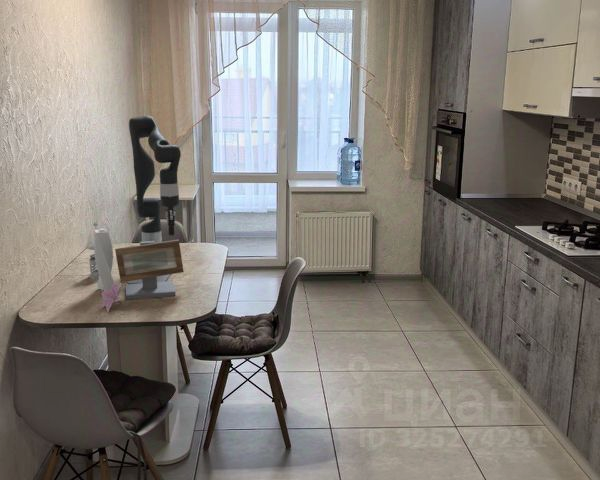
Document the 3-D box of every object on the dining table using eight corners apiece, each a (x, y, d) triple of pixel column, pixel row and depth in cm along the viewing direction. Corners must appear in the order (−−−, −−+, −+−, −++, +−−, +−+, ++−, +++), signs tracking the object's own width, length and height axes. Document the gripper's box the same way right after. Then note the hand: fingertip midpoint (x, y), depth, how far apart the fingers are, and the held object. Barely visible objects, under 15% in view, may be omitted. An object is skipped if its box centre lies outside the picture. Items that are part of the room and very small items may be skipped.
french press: (86, 274, 298) (82, 222, 292) (112, 271, 303) (108, 219, 298) (90, 279, 290) (85, 225, 284) (116, 276, 295) (112, 223, 289)
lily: (104, 304, 260) (92, 287, 254) (130, 291, 261) (120, 275, 255) (106, 322, 250) (95, 305, 245) (134, 309, 252) (123, 292, 246)
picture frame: (120, 281, 267) (115, 249, 263) (183, 270, 273) (178, 239, 269) (120, 282, 265) (115, 250, 262) (183, 272, 271) (178, 240, 267)
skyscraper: (119, 288, 277) (115, 225, 271) (106, 292, 271) (101, 228, 265) (107, 285, 282) (102, 223, 275) (93, 289, 276) (88, 226, 269)
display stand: (126, 288, 278) (122, 239, 273) (172, 284, 283) (170, 236, 278) (126, 299, 263) (122, 248, 258) (175, 295, 268) (172, 245, 263)
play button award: (173, 270, 301) (163, 282, 282) (173, 273, 301) (163, 286, 282) (139, 270, 301) (127, 282, 282) (139, 273, 302) (127, 286, 282)
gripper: (159, 191, 268) (161, 232, 272) (161, 197, 256) (163, 239, 260) (177, 191, 270) (179, 231, 274) (180, 196, 258) (182, 238, 262)
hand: (171, 235), depth 267 cm, fingers closed
